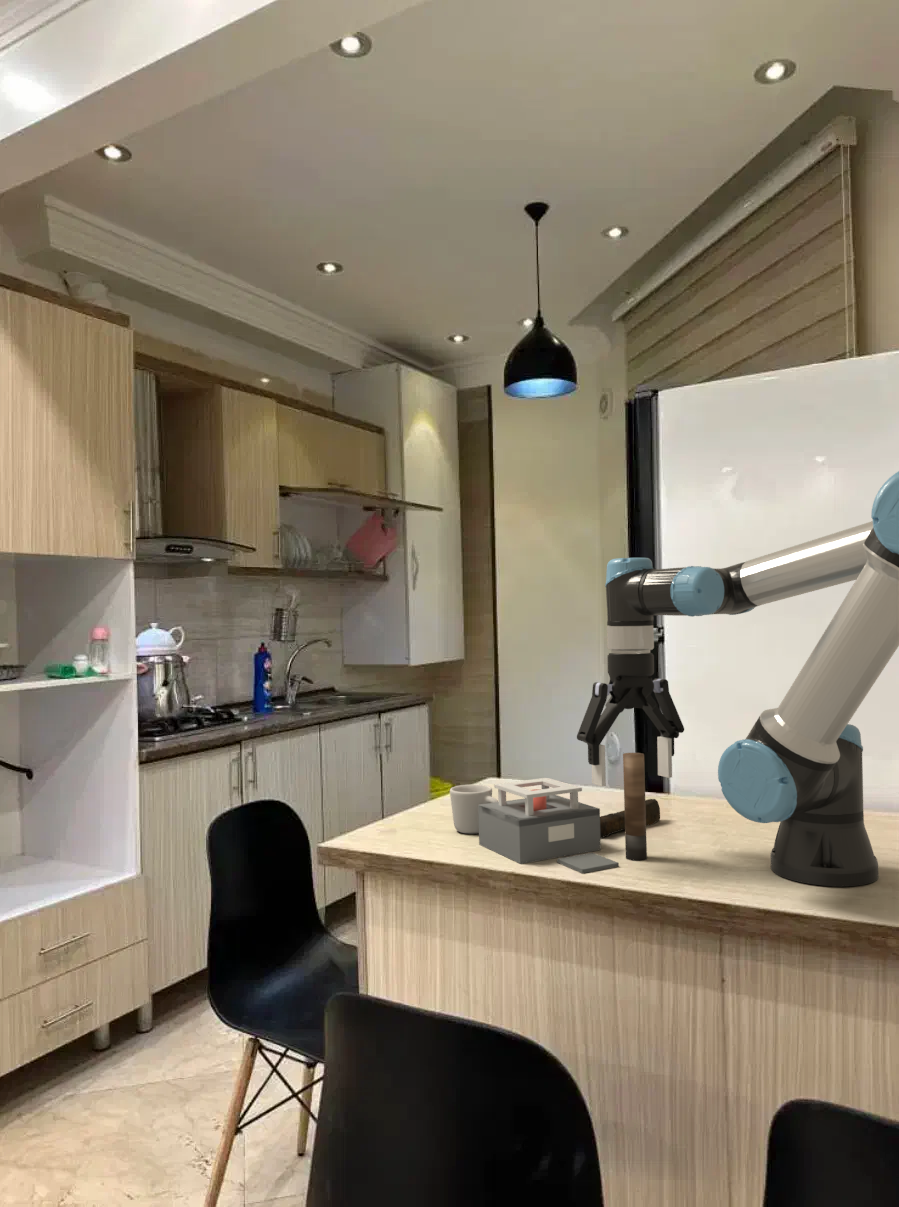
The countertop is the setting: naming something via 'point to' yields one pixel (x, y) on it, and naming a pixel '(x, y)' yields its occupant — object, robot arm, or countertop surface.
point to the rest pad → (587, 862)
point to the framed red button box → (539, 822)
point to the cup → (469, 806)
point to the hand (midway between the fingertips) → (632, 780)
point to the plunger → (539, 802)
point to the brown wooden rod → (634, 806)
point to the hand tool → (617, 820)
